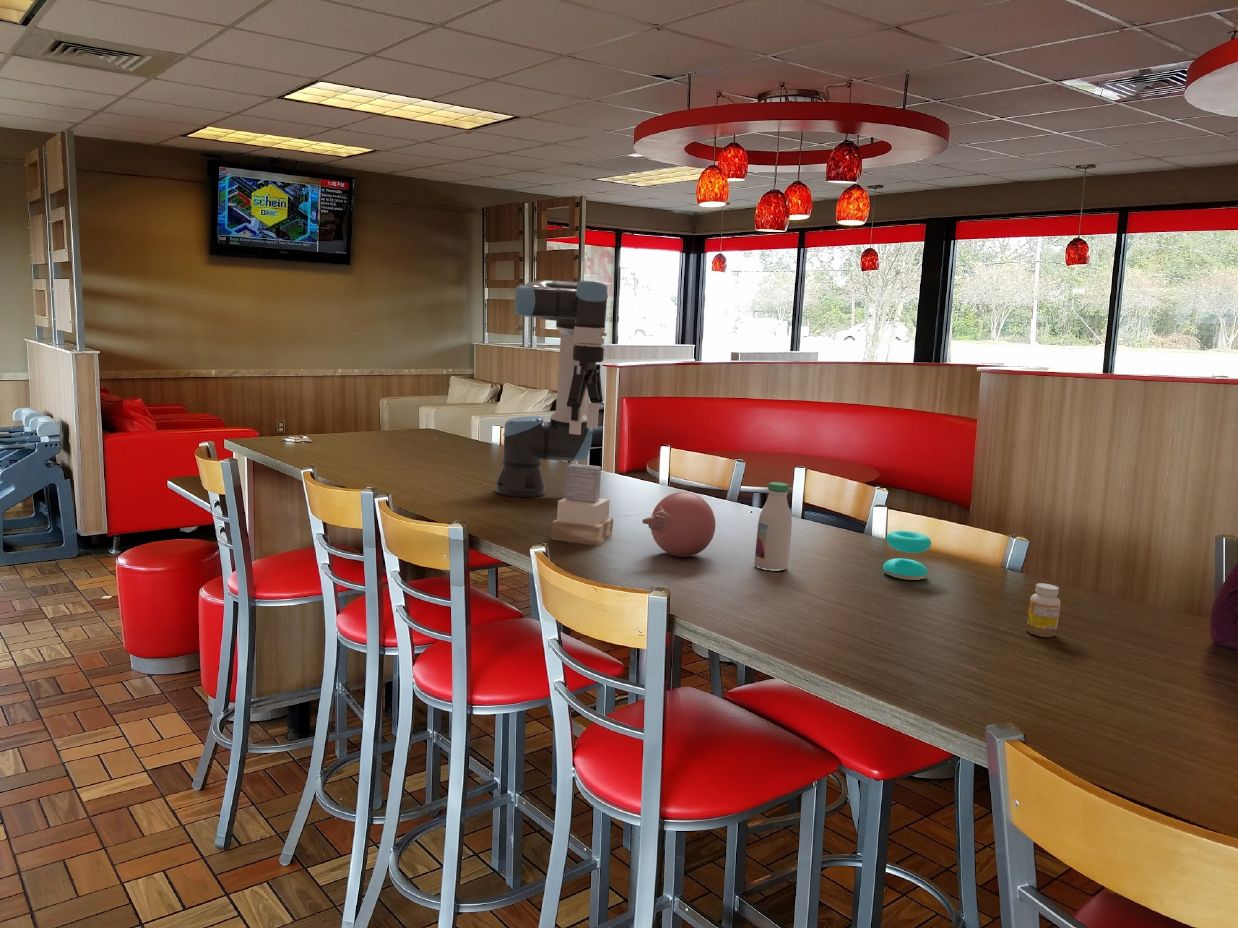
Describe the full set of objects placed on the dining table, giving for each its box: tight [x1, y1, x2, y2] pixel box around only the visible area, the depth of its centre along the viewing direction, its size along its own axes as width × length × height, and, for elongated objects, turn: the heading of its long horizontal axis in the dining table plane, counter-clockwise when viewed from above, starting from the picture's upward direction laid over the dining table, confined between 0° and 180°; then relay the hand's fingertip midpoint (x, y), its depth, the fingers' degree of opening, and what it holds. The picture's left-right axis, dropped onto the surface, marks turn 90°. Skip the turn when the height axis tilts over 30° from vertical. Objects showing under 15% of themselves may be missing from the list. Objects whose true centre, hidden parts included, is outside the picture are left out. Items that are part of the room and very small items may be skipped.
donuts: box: [882, 530, 932, 576], centre depth 214 cm, size 10×10×10 cm
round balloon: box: [642, 491, 716, 558], centre depth 217 cm, size 15×20×15 cm
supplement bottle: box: [1026, 582, 1061, 630], centre depth 178 cm, size 5×5×10 cm
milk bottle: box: [754, 481, 793, 569], centre depth 213 cm, size 8×8×20 cm
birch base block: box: [550, 517, 614, 547], centre depth 231 cm, size 12×12×5 cm
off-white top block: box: [556, 498, 611, 526], centre depth 231 cm, size 10×10×5 cm
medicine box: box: [565, 463, 602, 503], centre depth 230 cm, size 8×4×9 cm, turn 78°
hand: (583, 431), depth 229 cm, fingers open, 13 cm apart
